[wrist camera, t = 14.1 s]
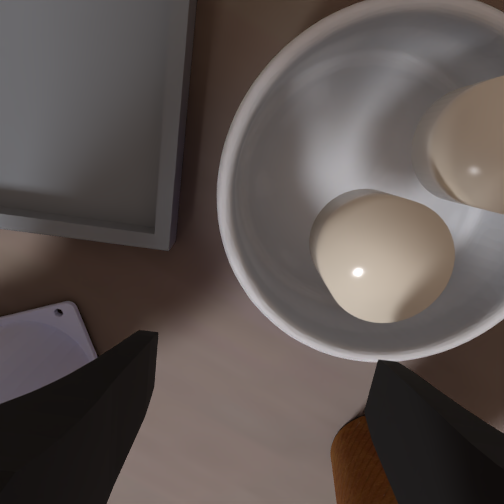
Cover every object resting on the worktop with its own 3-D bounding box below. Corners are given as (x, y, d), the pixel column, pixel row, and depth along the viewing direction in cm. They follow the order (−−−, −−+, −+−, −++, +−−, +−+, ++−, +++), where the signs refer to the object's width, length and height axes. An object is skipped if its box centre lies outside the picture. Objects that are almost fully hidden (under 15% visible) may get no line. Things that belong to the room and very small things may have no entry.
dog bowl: (308, -23, 18) (337, -106, 12) (549, 126, 20) (674, 117, 14) (181, 243, 21) (157, 279, 16) (396, 347, 24) (446, 411, 18)
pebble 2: (523, 188, 15) (596, 198, 12) (416, 211, 15) (460, 228, 12) (522, 73, 14) (602, 50, 10) (405, 100, 14) (451, 86, 11)
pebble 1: (371, 306, 16) (400, 343, 13) (288, 257, 15) (299, 284, 12) (433, 224, 15) (481, 243, 12) (349, 167, 14) (376, 172, 11)
